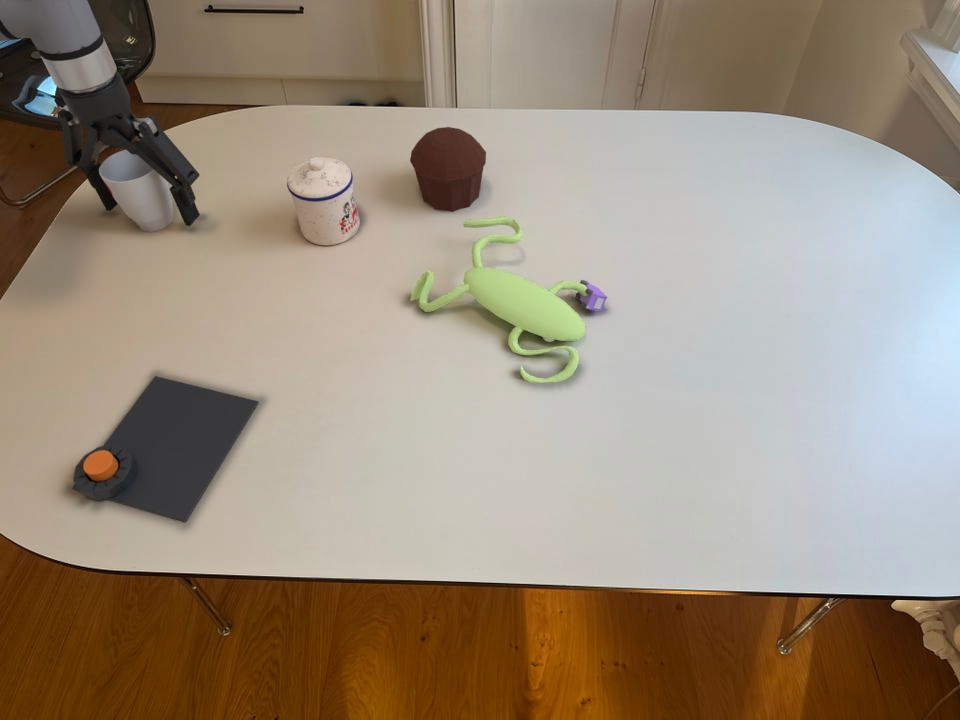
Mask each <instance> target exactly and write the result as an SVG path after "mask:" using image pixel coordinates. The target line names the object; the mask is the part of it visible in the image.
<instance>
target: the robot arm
mask: <svg viewBox="0 0 960 720" xmlns="http://www.w3.org/2000/svg"><path fill="white" fill-rule="evenodd" d="M22 39H30V40H31V42H32V43H33V45H34V46H35V48H36V50H37V52H38V54H39V56H40V58H41V60H42V62H43V64H44V65H45V68H46V70H47V71H48V74H49V75H50V78H51V79H52V81H53V83H54V85H55V86H56V87H57V88H58V92H59V94H60V96H61V98H62V99H63V101H64V103H65V105H64V106H63V107H62V108H60V110H58V111H57V112H56V115H57V117H58V119H59V122H60V124H61V129H62V141H63V148H64V149H63V151H64V152H63V153H64V162H65V164H66V165H67V166H68V167H70V168H72V167H76V168H78V170H79V171H80V172H82V173H83V174H84V176H85V177H86V179H87V181H88V183H89V184H90V186H91V187H92V189H94V190H95V192H96V194H97V196H98V198H99V199H100V201H101V203H102V205H103V207H104V208H105V210H106V211H109V212H112V211H113V210H114V209H115V207H116V206H117V205H119V204H118V203H117V202H116V200H115V199H114V197H113V196H112V194H111V192H110V191H109V189H108V187H107V186H106V184H105V182H104V181H103V179H102V177H101V176H100V174H99V168H100V166H101V164H102V163H100V162H98V161H99V160H100V158H99V155H100V153H101V151H102V148H103V145H104V146H108V147H116V148H119V149H123V150H127V151H128V152H130V153H131V154H136V155H138V156H139V157H140V158H141V159H142V160H143V161H145V162H146V163H147V164H148V165H149V166H150V167H151V168H153V169H154V170H155V171H156V172H157V173H158V174H160V175H161V176H162V177H163V178H164V179H165V180H166V181H167V182H168V184H170V185H171V187H169V190H170V195H171V197H172V198H173V201H174V203H175V205H176V207H177V210H178V211H179V214H180V216H181V218H182V220H183V223H184V225H185V226H186V227H192V225H193V224H194V223H195V221H196V220H197V219H198V218H199V217H200V211H199V210H198V207H197V205H196V203H195V201H196V199H197V198H196V195H195V193H194V190H193V187H192V185H193V184H194V183H195V182H196V181H197V179H198V178H199V177H200V173H199V172H198V170H197V169H196V168H195V167H194V166H193V165H192V163H191V162H190V161H189V160H188V159H187V157H185V155H184V153H182V151H181V150H180V149H179V148H178V147H177V146H176V145H175V143H174V142H173V141H172V140H171V138H170V137H169V136H168V135H167V134H166V132H165V131H164V130H163V129H162V127H161V125H160V123H159V121H158V119H157V117H156V116H155V115H153V114H148V115H147V116H146V117H140V118H139V117H137V116H136V115H135V114H134V113H133V111H132V110H131V96H130V94H129V90H128V89H127V86H126V83H125V82H124V79H123V77H122V75H121V73H120V72H119V71H118V70H117V65H116V63H115V60H114V58H113V56H112V54H111V51H110V49H109V47H108V44H107V42H106V40H105V38H104V36H103V33H102V31H101V29H100V27H99V25H98V23H97V19H96V18H95V15H94V13H93V11H92V8H91V6H90V3H89V1H88V0H0V42H6V41H16V40H22ZM83 127H84V128H85V129H86V130H87V134H86V137H85V139H84V135H83ZM136 138H138V139H139V140H138V141H137V142H136V143H135V144H133V143H134V142H135V140H136ZM84 142H85V145H84ZM97 162H98V163H97ZM96 163H97V164H96Z"/></svg>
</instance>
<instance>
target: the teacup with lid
mask: <svg viewBox="0 0 960 720" xmlns="http://www.w3.org/2000/svg"><path fill="white" fill-rule="evenodd" d="M353 180H354V175H353V172H352V170H351V168H350V167H349V166H348V165H347V164H345V162H343V161H341V160H339V159H336V158H331V157H319V156H315V157H311V158H310V159H307V160H305V161H302V162H301V163H299V164H297V165H296V166H294V168H292V170H291V171H290V172H289V174H288V176H287V180H286V187H287V190H288V192H289V193H290V194H291V199H292V202H293V205H294V209H295V213H296V216H297V220H298V224H299V228H300V231H301V234H302V235H303V237H304V238H305V239H306V241H308V242H310V243H313V244H315V245H319V246H334V245H339V244H342V243H345V242H346V241H348V240H350V239H351V238H352V237H354V235H355V234H356V233H357V232H358V230H359V227H360V225H361V224H360V222H361V221H360V216H359V210H358V205H357V201H356V196H355V195H356V194H355V190H354V186H353V185H354V184H353Z"/></svg>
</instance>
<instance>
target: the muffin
mask: <svg viewBox="0 0 960 720" xmlns="http://www.w3.org/2000/svg"><path fill="white" fill-rule="evenodd" d="M409 158H410V159H409V162H410V164H411V165H412V167H413V169H414V173H415V176H416V180H417V183H418V187H419V189H420V193H421V197H422V200H423V202H425V203H426V204H428V205H429V206H431V208H433V209H434V210H437V211H438V210H439V211H446V212H447V211H448V212H452V213H453V212H456V211H459V210H461V209H467V208H470V207H471V205H473V203H474V202H475V201H476V200H477V199H479V197H480V192H481V186H482V185H481V184H482V179H483V172H484V167H485V165H486V164H487V163H486V162H487V151H486V150H485V149H484V147H483V146H482V145H481V143H480V142H478V140H477V139H476V138H475V137H474V135H472V134H470V133H468V132H466V131H464V130H463V129H460V128H458V127H451V126H445V127H437V128H434V129H432V130H430V131H428V132H426V133H425V134H423V136H422V137H421V138H420V139H419V140H418V141H417V142H416V144H415V145H414V147H413V148H412V150H411V151H410V157H409Z"/></svg>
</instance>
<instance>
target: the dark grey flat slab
mask: <svg viewBox="0 0 960 720" xmlns="http://www.w3.org/2000/svg"><path fill="white" fill-rule="evenodd" d="M259 403H260V402H259V400H255V399H251V398H246V397H243V396H238V395H234V394H230V393H226V392H221V391H217V390H213V389H210V388H205V387H201V386H198V385H193V384H189V383H185V382H181V381H177V380H173V379H169V378H164V377H160V376H157V375H154V377H153V378H152V380H151V381H150V382H149V384H148V385H147V386H146V388H145V389H144V391H143V392H142V393H141V395H140V396H139V397H138V398H137V400H136V401H135V403H134V404H133V405H132V406H131V407H130V409H129V411H128V412H127V413H126V414H125V416H124V417H123V419H121V421H120V423H119V424H118V425H117V427H116V428H115V429H114V431H113V432H112V433H111V435H110V436H109V438H108V439H106V441H105V442H104V444H103V445H102V446H101V445H100V446H98V447H96V448H94V449H92V450H91V451H89V452H88V453H86V454H84V455H83V456H82V457H81V459H80V460H79V462H78V463H77V464H76V466H75V468H74V473H73V483H74V484H73V486H72V487H71V489H72V490H73V491H76V492H79V493H82V494H83V496H84V497H86V498H90V499H92V500H96V501H101V500H102V501H103V500H107V501H110V502H114V503H117V504H121V505H124V506H128V507H132V508H135V509H138V510H141V511H144V512H149V513H151V514H155V515H159V516H162V517H165V518H169V519H173V520H177V521H180V522H183V523H187V522H188V520H189V519H190V517H191V515H192V514H193V512H194V510H195V508H196V507H197V505H198V504H199V502H200V501H201V499H202V497H203V495H204V494H205V492H206V491H207V489H208V487H209V486H210V484H211V482H212V481H213V479H214V477H215V476H216V475H217V473H218V472H219V471H218V470H219V469H220V468H221V466H222V465H223V463H224V461H225V459H226V458H227V456H228V454H229V453H230V452H231V449H232V448H233V446H234V445H235V443H236V442H237V440H238V438H239V436H240V435H241V434H242V431H243V430H244V429H245V426H246V425H247V423H248V421H249V420H250V418H251V417H252V415H253V413H254V412H255V410H256V408H257V407H258V405H259ZM100 450H105V451H109V452H110V453H111V454H112V455H113V456H114V458H115V459H116V460H117V462H118V470H117V472H116V473H115V474H114V475H113V476H112V477H111V478H109V479H107V480H105V481H94V480H92V479H91V478H90V477H89V476H88V474H87V473H86V472H85V471H84V468H83V465H84V462H85V460H86V459H87V457H88V456H89V455H91V454H92V453H94V452H96V451H100Z"/></svg>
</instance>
